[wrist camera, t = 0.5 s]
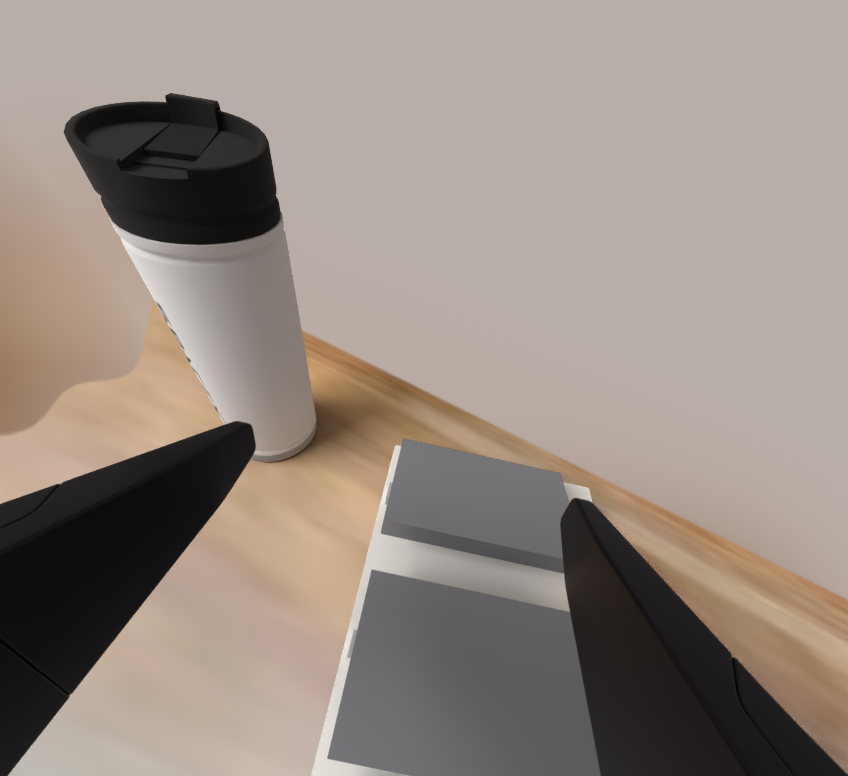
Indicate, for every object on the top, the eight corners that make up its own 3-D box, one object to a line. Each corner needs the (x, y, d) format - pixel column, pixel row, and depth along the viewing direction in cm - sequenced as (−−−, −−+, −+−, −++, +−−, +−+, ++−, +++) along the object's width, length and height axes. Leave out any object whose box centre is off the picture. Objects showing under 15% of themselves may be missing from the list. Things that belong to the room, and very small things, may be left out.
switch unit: (695, 1217, 10) (857, 1483, 6) (224, 1132, 9) (157, 1367, 6) (568, 503, 25) (598, 480, 22) (391, 463, 25) (396, 436, 22)
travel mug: (318, 395, 28) (276, 109, 14) (316, 459, 24) (252, 146, 9) (243, 398, 27) (105, 80, 12) (227, 467, 23) (-14, 107, 8)
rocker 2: (595, 793, 12) (618, 818, 11) (332, 739, 12) (327, 758, 11) (583, 614, 15) (599, 618, 14) (372, 569, 15) (371, 569, 14)
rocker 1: (576, 576, 17) (589, 564, 16) (380, 533, 16) (383, 519, 16) (551, 485, 22) (560, 473, 21) (400, 452, 21) (403, 438, 21)
